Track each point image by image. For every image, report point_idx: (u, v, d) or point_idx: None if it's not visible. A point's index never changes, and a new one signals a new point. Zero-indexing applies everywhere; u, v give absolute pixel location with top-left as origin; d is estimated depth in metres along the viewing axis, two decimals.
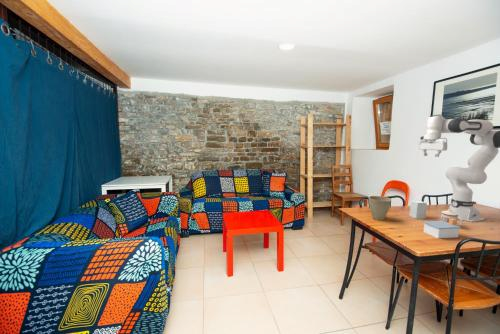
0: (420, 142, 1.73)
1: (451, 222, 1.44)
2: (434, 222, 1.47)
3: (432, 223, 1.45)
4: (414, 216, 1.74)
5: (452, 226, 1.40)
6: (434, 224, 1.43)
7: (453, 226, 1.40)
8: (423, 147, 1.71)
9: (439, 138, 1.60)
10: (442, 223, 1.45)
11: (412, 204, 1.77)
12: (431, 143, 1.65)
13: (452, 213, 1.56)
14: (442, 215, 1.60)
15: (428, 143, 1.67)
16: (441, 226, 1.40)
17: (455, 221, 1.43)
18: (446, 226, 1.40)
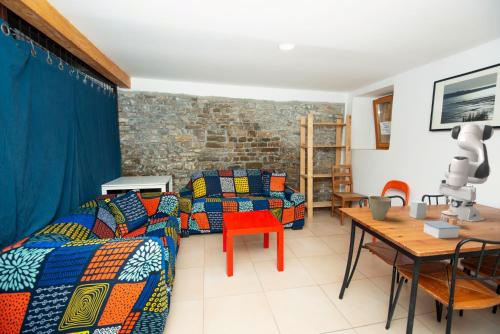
0: (441, 186, 1.49)
1: (451, 222, 1.44)
2: (434, 222, 1.47)
3: (432, 223, 1.45)
4: (414, 216, 1.74)
5: (452, 226, 1.40)
6: (434, 224, 1.43)
7: (453, 226, 1.40)
8: (445, 192, 1.47)
9: (466, 185, 1.36)
10: (442, 223, 1.45)
11: (412, 204, 1.77)
12: (455, 189, 1.41)
13: (452, 213, 1.56)
14: (442, 215, 1.60)
15: (451, 189, 1.43)
16: (441, 226, 1.40)
17: (455, 221, 1.43)
18: (446, 226, 1.40)
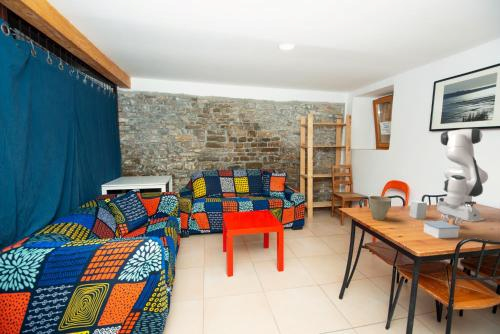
0: (439, 203, 1.51)
1: (451, 222, 1.44)
2: (434, 222, 1.47)
3: (432, 223, 1.45)
4: (414, 216, 1.74)
5: (452, 226, 1.40)
6: (434, 224, 1.43)
7: (453, 226, 1.40)
8: (443, 210, 1.49)
9: (463, 205, 1.37)
10: (442, 223, 1.45)
11: (412, 204, 1.77)
12: (453, 208, 1.42)
13: None
14: (442, 215, 1.60)
15: (449, 207, 1.45)
16: (441, 226, 1.40)
17: None
18: (446, 226, 1.40)
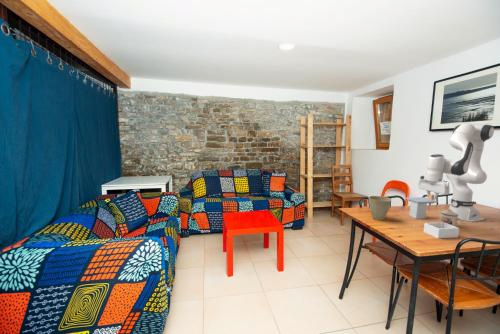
0: (420, 181, 1.63)
1: (430, 197, 1.56)
2: (415, 197, 1.59)
3: (413, 198, 1.57)
4: (414, 216, 1.74)
5: (431, 200, 1.52)
6: (414, 199, 1.55)
7: (432, 201, 1.52)
8: (423, 187, 1.61)
9: (441, 180, 1.49)
10: (422, 198, 1.57)
11: (412, 204, 1.77)
12: (432, 184, 1.54)
13: (452, 213, 1.56)
14: (442, 215, 1.60)
15: (429, 184, 1.57)
16: (420, 200, 1.52)
17: None
18: (425, 200, 1.52)
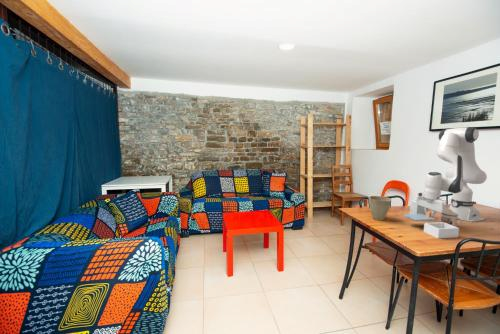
0: (418, 198, 1.64)
1: (428, 215, 1.57)
2: (413, 214, 1.61)
3: (411, 215, 1.58)
4: None
5: (428, 218, 1.53)
6: (412, 216, 1.56)
7: (429, 218, 1.53)
8: (421, 204, 1.62)
9: (438, 199, 1.51)
10: (420, 216, 1.58)
11: (412, 204, 1.77)
12: (430, 202, 1.56)
13: (452, 213, 1.56)
14: (442, 215, 1.60)
15: (426, 201, 1.58)
16: (418, 218, 1.53)
17: None
18: (423, 218, 1.53)
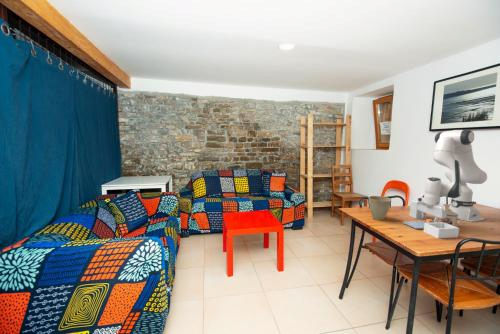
0: (418, 203, 1.65)
1: (428, 222, 1.58)
2: (413, 222, 1.62)
3: (411, 223, 1.59)
4: (414, 216, 1.74)
5: None
6: (412, 224, 1.57)
7: None
8: (421, 209, 1.63)
9: (438, 204, 1.51)
10: (420, 223, 1.59)
11: (412, 204, 1.77)
12: (429, 207, 1.56)
13: (452, 213, 1.56)
14: None
15: (426, 206, 1.59)
16: (418, 226, 1.54)
17: (431, 221, 1.57)
18: (423, 226, 1.54)
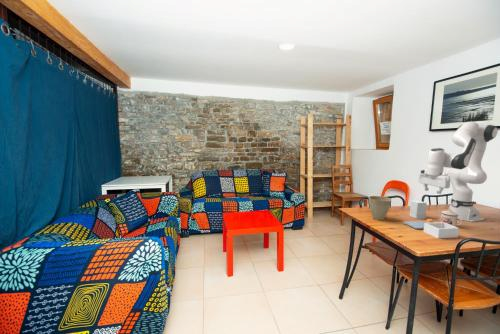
0: (421, 176, 1.63)
1: (428, 222, 1.58)
2: (413, 222, 1.62)
3: (411, 223, 1.59)
4: (414, 216, 1.74)
5: None
6: (412, 224, 1.57)
7: None
8: (424, 181, 1.60)
9: (441, 174, 1.49)
10: (420, 223, 1.59)
11: (412, 204, 1.77)
12: (432, 178, 1.54)
13: (452, 213, 1.56)
14: (442, 215, 1.60)
15: (429, 178, 1.57)
16: (418, 226, 1.54)
17: (432, 221, 1.57)
18: (423, 226, 1.54)
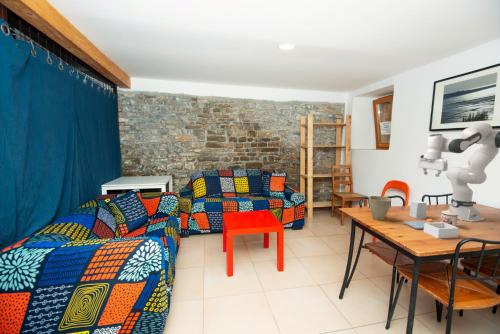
0: (420, 160, 1.72)
1: (428, 222, 1.58)
2: (413, 222, 1.62)
3: (411, 223, 1.59)
4: (414, 216, 1.74)
5: None
6: (413, 224, 1.57)
7: None
8: (423, 166, 1.70)
9: (439, 158, 1.59)
10: (420, 223, 1.59)
11: (412, 204, 1.77)
12: (431, 162, 1.64)
13: (452, 213, 1.56)
14: (442, 215, 1.60)
15: (428, 162, 1.66)
16: (418, 226, 1.54)
17: (432, 221, 1.57)
18: (423, 226, 1.54)
